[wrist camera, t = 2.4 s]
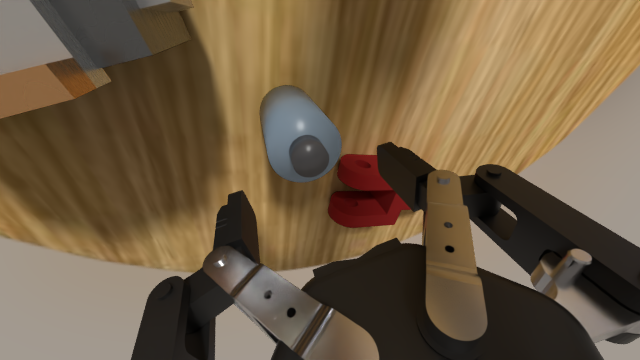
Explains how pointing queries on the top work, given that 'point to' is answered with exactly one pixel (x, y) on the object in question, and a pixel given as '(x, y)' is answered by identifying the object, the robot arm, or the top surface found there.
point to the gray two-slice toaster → (77, 45)
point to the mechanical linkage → (364, 195)
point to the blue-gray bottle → (298, 135)
